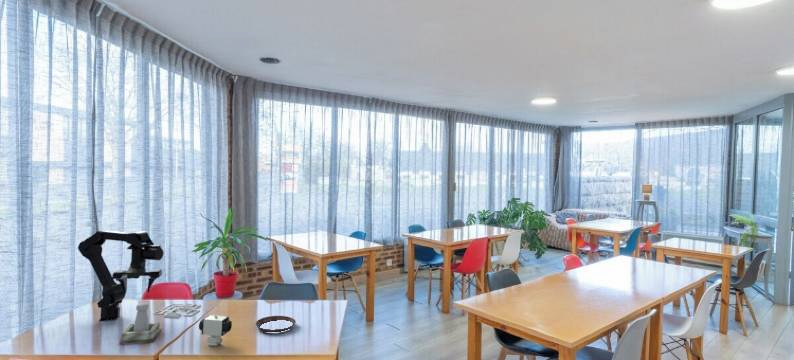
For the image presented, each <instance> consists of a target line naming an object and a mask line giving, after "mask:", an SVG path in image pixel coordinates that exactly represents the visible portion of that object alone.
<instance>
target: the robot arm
mask: <svg viewBox="0 0 794 360" xmlns="http://www.w3.org/2000/svg"><path fill="white" fill-rule="evenodd" d="M107 240H108V241H118V242H123V243H124V242H125V243H127V244H128V245H129V246H128V247H126V249H127V250H131V257H130V260H131V261H130V264H129V267H128V269H127V270H126V269H125V270H124V269H123V270H122V269H118V270H116V271H115V272H113V273H111V272H110V270H109V268H108V265H107V263H106V262H105V260H104V258H103V256H102V253H103V245H104V244H105V243H106V242H107ZM77 249H78V252H80V255H81V256H82V257H84V258H85V259H87V260H88V261H89V262H90V265H91V266H92V269H93V271H94V273H95V274H96V276H97V277H96V278H97V279H98V280H99V283H100V285H101V287H102V290H101V296H102V298H101V299H100V300H99V301H98V302H97V304H96V305H97V308H100V318H99V319H98V321H99V322H103V321H104V322H105V321H116V320H117V319H118V318H119V317H120V316H121V315H120V314H121V307H120V304H122V302H123V300H124V299H125V297H126V295H127V294H126V293H127V290H128V279H129V280H131V279H136V280H137V279H139V278H141V277H149V278H148V282H147V283H148V285H147V293H150V291H151V288H152V286H153V284H154V281H155V280H158V279H159V278H160V277H161V276H163V271H162V269H151V270H150V271H147V269H146V263H147V260H150V261H161V260H162V259H163V256H164V250H163V248H162V247H161V245H159V244H158V245H155V244H154V242H153V240H152V239H151V237H150V235H149V233H148V232H147V231H145V230H144V231H143V230H142V231H135V232H133V231H132V232H126V231H115V230H107V229H102V230H98V231H96V232H95V233H94V234H93V235H90V236H89V237H87V238H86V239H84V240H82V241H81V242H79V244H78V246H77ZM116 281H117V282H119V283H117V282H116Z"/></svg>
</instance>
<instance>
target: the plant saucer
mask: <svg viewBox="0 0 794 360" xmlns="http://www.w3.org/2000/svg"><path fill="white" fill-rule="evenodd" d="M277 320H286V321H290V322H292V323H293V324H294V325H292V326H290V327H288V328H284V329H275V330H270V329H263V328H260V326H261V325H262V324H264V323H267V322H270V321H277ZM296 323H297V322H296V319H294V318H293V317H291V316H287V315H286V316H285V315H271V316H265V317H262V318H259V319H258V320H257V321H256V322H255V325H256V328H257V329H258V331H260V332H261V331H263V332H281V331H285V330H288V329H290V330H291V329H292V328H294V326H295V325H296ZM263 332H262V333H263Z"/></svg>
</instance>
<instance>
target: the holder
mask: <svg viewBox="0 0 794 360" xmlns="http://www.w3.org/2000/svg"><path fill="white" fill-rule="evenodd" d="M134 324H135V323H130V324H129V325H128V326H127V327H126V328H125V330H123V332H122V333H121V337H120V338H121V339H120V341H119V343H118V345H128V344H142V343H144V344H145V343H154V342H155V341H156V339H157V338H158V336H159V335H160V333H161V331H162V328H160V322H149V331H136V332H133V329H134Z"/></svg>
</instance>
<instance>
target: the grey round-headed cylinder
mask: <svg viewBox="0 0 794 360" xmlns="http://www.w3.org/2000/svg"><path fill="white" fill-rule="evenodd" d="M135 308H136V311H137V312H136V316H135V321H134V323H133V324H134V329H133V332H136V331H149V323H150V321H149V317H148V316H149V315H148V309H149V304H148V303H147V302H142V303H138V304H137V305H136V306H135Z"/></svg>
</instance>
